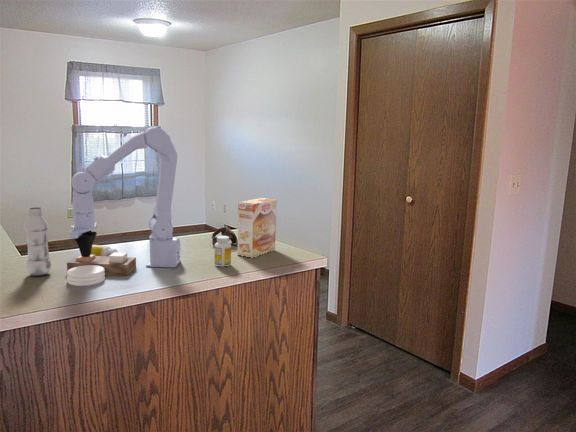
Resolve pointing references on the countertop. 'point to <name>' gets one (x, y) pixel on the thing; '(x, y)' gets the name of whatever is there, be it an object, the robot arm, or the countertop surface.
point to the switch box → (107, 265)
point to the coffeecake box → (256, 226)
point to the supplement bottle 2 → (222, 251)
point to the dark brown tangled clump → (225, 232)
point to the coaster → (85, 275)
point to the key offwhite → (118, 257)
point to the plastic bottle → (37, 242)
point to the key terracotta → (85, 258)
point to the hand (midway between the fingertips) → (85, 256)
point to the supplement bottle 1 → (102, 250)
